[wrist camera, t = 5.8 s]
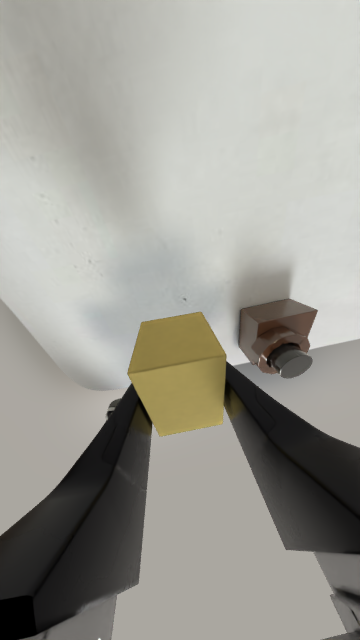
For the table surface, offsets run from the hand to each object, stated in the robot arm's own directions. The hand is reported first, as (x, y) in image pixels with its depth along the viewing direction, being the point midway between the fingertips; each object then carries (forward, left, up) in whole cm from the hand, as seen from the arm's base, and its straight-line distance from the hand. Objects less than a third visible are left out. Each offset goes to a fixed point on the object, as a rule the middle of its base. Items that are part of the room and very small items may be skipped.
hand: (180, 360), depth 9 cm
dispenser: (-3, -16, -11) cm, 20 cm away
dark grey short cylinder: (-4, -15, -5) cm, 17 cm away
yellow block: (0, 0, -1) cm, 1 cm away
